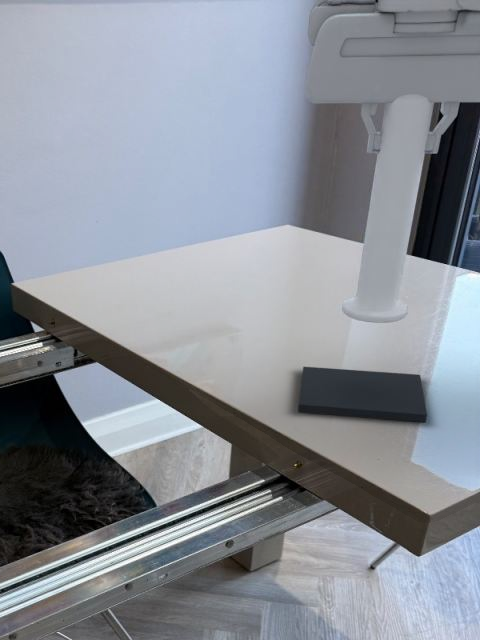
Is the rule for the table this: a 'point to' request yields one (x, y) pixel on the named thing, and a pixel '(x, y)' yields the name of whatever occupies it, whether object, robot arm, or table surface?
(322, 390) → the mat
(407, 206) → the candle
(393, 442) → the table surface
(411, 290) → the table surface
